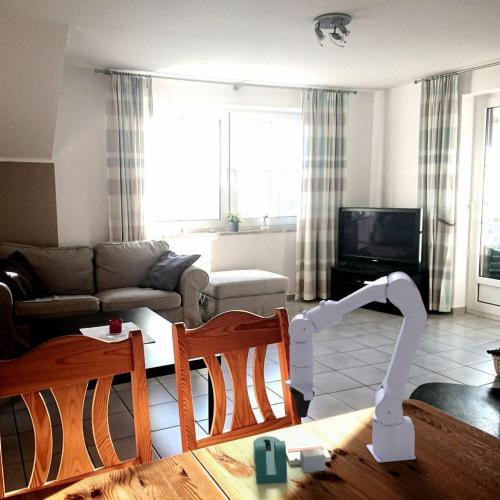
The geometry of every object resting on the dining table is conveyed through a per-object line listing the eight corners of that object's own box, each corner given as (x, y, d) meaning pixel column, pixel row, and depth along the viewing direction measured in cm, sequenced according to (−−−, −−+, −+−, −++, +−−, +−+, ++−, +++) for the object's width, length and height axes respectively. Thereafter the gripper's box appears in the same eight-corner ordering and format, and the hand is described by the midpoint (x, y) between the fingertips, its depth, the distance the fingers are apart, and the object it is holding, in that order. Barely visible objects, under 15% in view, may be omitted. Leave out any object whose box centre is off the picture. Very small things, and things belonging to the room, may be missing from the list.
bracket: (287, 483, 120) (286, 450, 119) (256, 484, 120) (255, 451, 119) (279, 444, 138) (278, 414, 137) (252, 445, 138) (252, 415, 137)
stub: (320, 462, 128) (320, 447, 128) (325, 470, 125) (325, 455, 124) (300, 464, 127) (300, 449, 127) (303, 472, 124) (303, 457, 123)
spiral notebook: (323, 448, 135) (323, 443, 134) (330, 461, 129) (330, 455, 129) (284, 452, 133) (284, 447, 133) (289, 465, 127) (289, 459, 127)
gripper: (279, 355, 140) (280, 405, 141) (292, 375, 125) (292, 431, 127) (306, 353, 141) (306, 403, 142) (321, 373, 126) (321, 428, 128)
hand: (301, 416), depth 135 cm, fingers closed
